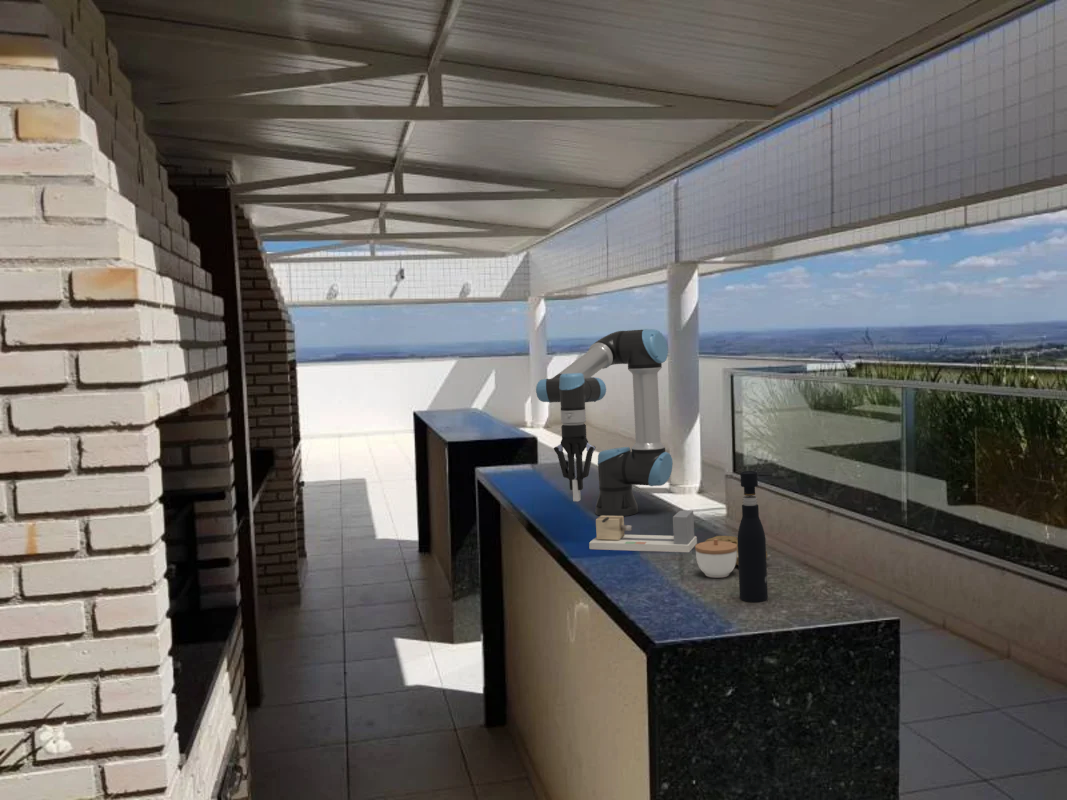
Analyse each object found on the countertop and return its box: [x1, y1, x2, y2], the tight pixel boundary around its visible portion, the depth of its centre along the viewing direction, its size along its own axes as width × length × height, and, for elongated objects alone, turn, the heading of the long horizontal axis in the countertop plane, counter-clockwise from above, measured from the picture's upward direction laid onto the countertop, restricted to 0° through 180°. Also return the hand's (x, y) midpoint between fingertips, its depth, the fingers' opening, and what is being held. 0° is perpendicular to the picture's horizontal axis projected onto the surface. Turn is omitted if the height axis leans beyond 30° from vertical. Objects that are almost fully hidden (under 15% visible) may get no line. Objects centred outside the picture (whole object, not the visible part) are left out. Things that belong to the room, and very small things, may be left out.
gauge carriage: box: [595, 515, 633, 540], centre depth 279 cm, size 10×10×7 cm
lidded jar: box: [694, 539, 737, 579], centre depth 241 cm, size 11×11×9 cm
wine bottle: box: [737, 470, 769, 603], centre depth 218 cm, size 6×6×30 cm
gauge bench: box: [588, 510, 698, 553], centre depth 278 cm, size 12×30×10 cm, turn 69°
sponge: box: [704, 535, 769, 567], centre depth 255 cm, size 13×8×20 cm
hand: (576, 500), depth 284 cm, fingers closed
